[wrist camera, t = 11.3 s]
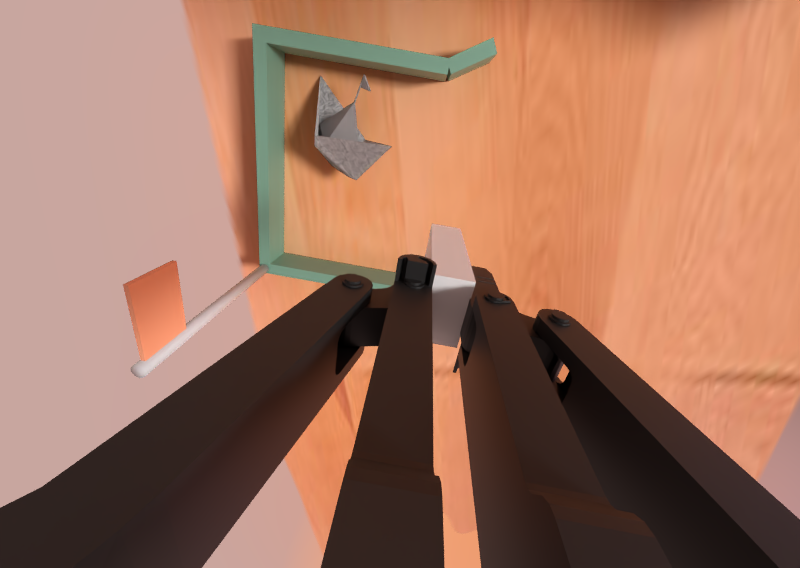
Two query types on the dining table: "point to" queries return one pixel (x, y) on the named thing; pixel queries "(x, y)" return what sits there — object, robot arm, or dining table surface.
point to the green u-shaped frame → (276, 184)
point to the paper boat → (343, 134)
